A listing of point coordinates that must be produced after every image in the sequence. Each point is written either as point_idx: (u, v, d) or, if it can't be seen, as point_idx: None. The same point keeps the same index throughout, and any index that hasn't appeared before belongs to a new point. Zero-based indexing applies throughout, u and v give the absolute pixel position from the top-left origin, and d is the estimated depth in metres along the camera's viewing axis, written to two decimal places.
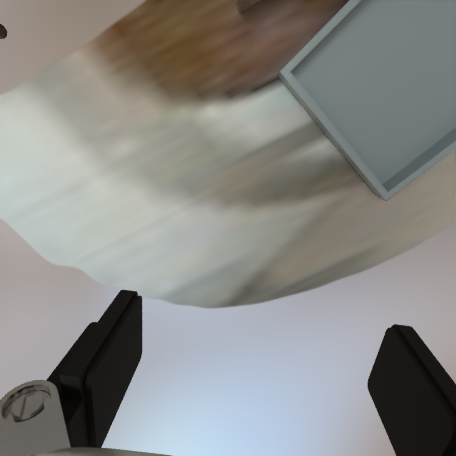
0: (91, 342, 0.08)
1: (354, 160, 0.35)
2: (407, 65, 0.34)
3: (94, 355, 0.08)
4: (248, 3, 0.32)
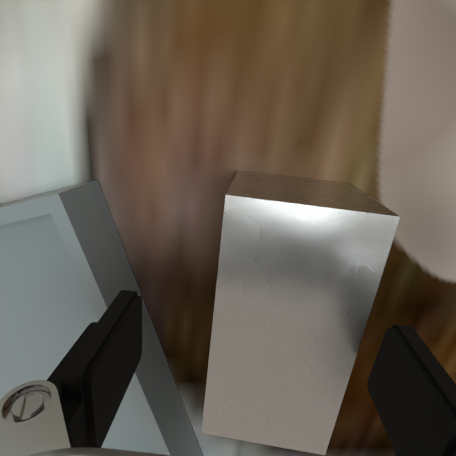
0: (91, 342, 0.08)
1: None
2: (30, 362, 0.21)
3: (94, 354, 0.08)
4: None
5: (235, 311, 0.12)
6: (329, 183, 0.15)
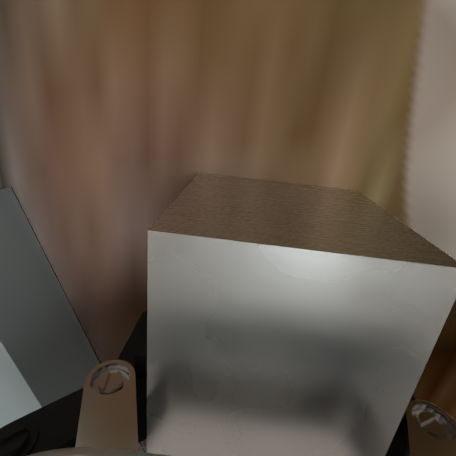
0: None
1: None
2: None
3: None
4: None
5: (182, 412, 0.07)
6: (329, 193, 0.10)
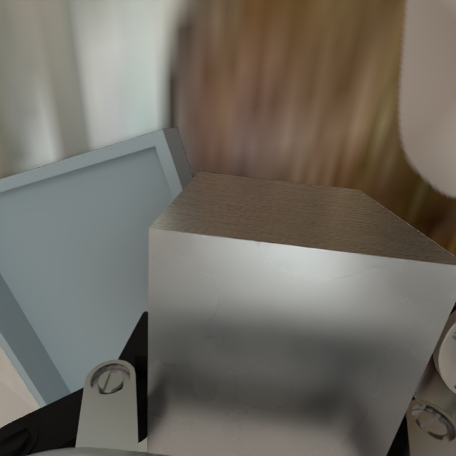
0: None
1: None
2: (113, 288, 0.26)
3: None
4: None
5: (183, 411, 0.07)
6: (330, 191, 0.10)
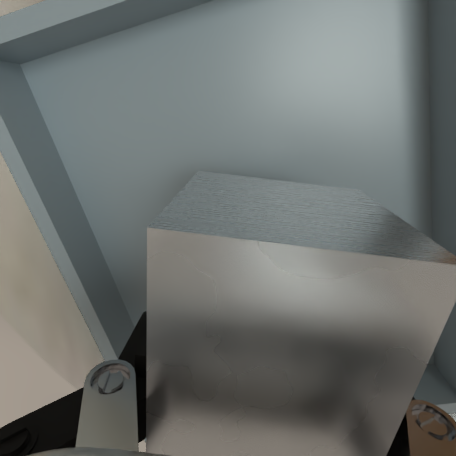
0: None
1: None
2: None
3: None
4: None
5: (182, 411, 0.07)
6: (330, 191, 0.10)
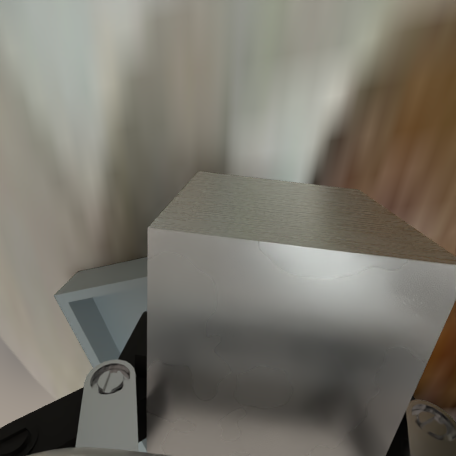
0: None
1: (137, 280, 0.21)
2: None
3: None
4: None
5: (182, 410, 0.07)
6: (329, 191, 0.10)
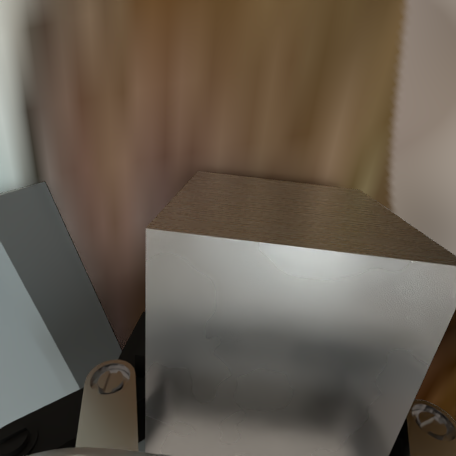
0: None
1: None
2: None
3: None
4: None
5: (181, 413, 0.07)
6: (330, 191, 0.10)
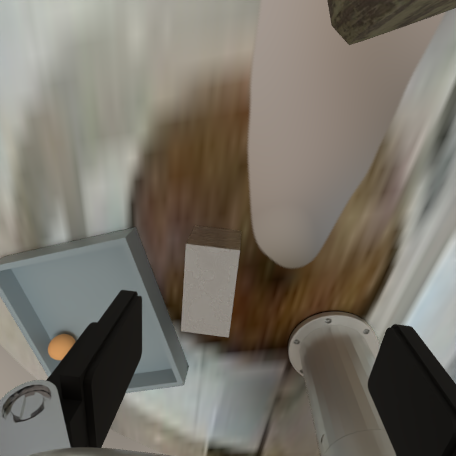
0: (91, 342, 0.08)
1: (28, 259, 0.38)
2: (99, 311, 0.43)
3: (94, 354, 0.08)
4: None
5: (191, 281, 0.35)
6: (231, 231, 0.37)
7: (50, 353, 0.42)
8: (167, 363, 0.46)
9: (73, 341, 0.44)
